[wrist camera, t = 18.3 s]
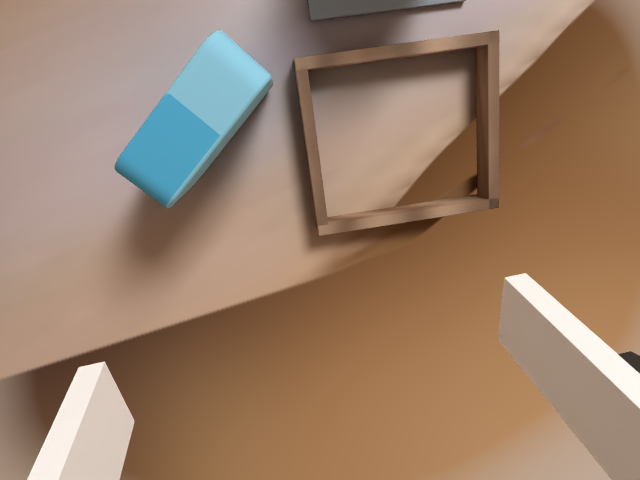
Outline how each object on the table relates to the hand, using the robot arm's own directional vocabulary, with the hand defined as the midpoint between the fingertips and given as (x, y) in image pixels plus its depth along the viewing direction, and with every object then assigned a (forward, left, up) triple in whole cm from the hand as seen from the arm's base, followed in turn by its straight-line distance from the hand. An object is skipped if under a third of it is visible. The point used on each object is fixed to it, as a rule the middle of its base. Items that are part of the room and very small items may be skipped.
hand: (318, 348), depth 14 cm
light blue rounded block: (-6, +7, -29) cm, 31 cm away
